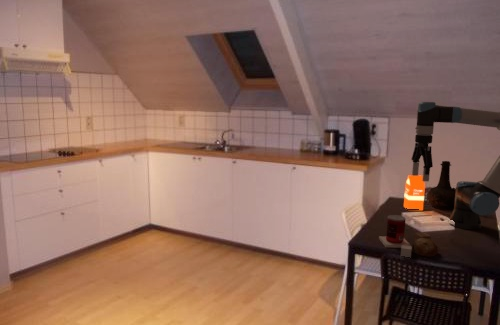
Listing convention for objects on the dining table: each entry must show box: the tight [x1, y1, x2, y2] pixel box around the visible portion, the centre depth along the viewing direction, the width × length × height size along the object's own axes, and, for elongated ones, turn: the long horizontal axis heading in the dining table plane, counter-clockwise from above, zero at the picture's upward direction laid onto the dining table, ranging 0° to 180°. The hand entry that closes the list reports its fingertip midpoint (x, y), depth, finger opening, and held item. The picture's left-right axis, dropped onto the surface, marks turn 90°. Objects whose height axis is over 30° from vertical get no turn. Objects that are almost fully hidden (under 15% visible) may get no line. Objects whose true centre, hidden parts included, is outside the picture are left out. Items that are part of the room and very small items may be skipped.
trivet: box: [378, 235, 412, 249], centre depth 195 cm, size 11×11×1 cm
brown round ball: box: [413, 231, 432, 243], centre depth 193 cm, size 5×5×5 cm
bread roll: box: [411, 238, 439, 258], centre depth 184 cm, size 10×10×8 cm
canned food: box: [385, 214, 406, 243], centre depth 194 cm, size 8×8×11 cm
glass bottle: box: [426, 160, 456, 210], centre depth 255 cm, size 18×18×28 cm
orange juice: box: [403, 174, 426, 211], centre depth 252 cm, size 8×9×20 cm
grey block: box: [400, 245, 413, 259], centre depth 180 cm, size 4×4×4 cm
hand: (420, 178), depth 208 cm, fingers open, 13 cm apart
